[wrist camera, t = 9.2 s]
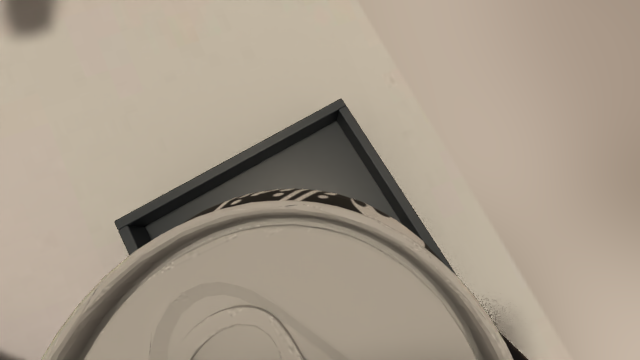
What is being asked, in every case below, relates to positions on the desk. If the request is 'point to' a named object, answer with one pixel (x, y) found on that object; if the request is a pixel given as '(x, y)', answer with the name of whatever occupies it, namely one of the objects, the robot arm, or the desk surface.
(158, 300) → the beverage can
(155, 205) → the serving tray
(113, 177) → the desk surface
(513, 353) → the robot arm
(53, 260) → the desk surface
